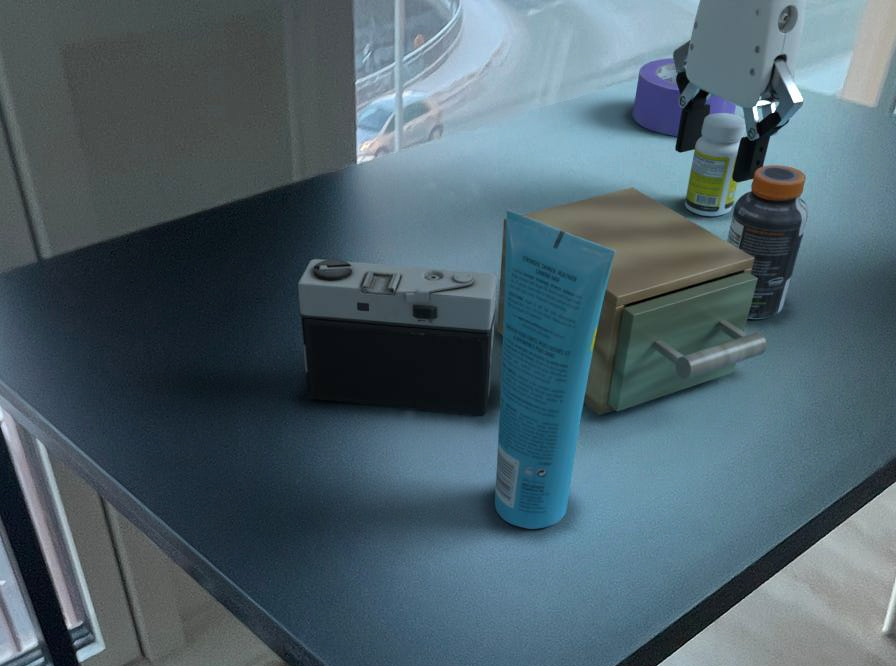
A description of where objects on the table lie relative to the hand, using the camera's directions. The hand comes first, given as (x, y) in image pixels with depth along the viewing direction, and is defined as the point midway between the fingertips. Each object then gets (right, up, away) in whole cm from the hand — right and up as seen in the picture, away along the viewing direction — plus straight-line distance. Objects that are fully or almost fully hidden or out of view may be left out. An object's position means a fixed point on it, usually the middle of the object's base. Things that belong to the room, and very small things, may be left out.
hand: (716, 163), depth 100 cm
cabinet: (-14, -23, -17) cm, 32 cm away
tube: (-22, -38, -31) cm, 54 cm away
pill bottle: (-1, -18, -11) cm, 21 cm away
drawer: (-12, -25, -20) cm, 34 cm away
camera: (-31, -27, -20) cm, 45 cm away
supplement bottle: (0, -3, +3) cm, 5 cm away
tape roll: (+2, +15, +21) cm, 26 cm away
